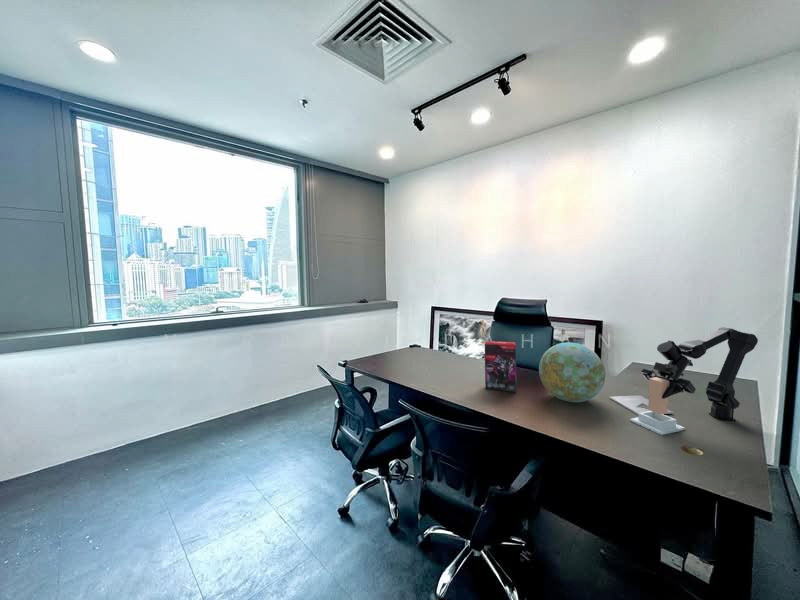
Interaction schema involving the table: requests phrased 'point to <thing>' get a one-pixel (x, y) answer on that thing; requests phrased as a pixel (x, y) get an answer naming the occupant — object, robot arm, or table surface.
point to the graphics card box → (500, 366)
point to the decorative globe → (572, 372)
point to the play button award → (634, 403)
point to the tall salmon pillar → (657, 395)
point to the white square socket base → (657, 422)
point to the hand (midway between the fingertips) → (655, 395)
